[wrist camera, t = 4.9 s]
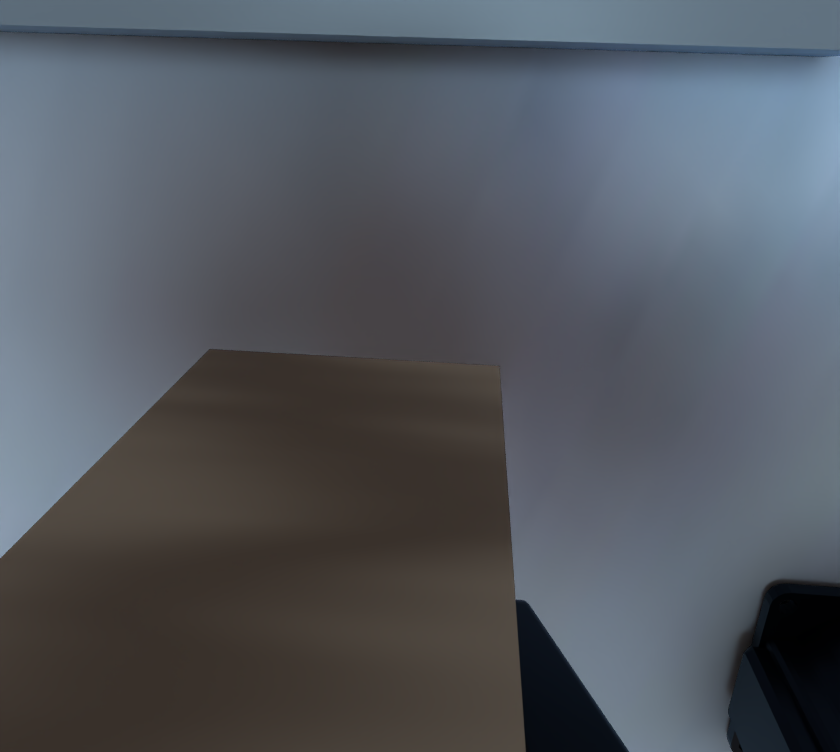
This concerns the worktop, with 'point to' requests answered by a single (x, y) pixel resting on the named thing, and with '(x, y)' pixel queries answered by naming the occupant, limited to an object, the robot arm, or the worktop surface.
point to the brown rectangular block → (276, 571)
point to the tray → (460, 22)
